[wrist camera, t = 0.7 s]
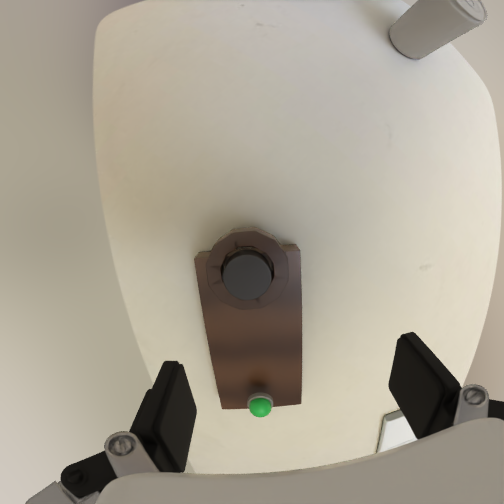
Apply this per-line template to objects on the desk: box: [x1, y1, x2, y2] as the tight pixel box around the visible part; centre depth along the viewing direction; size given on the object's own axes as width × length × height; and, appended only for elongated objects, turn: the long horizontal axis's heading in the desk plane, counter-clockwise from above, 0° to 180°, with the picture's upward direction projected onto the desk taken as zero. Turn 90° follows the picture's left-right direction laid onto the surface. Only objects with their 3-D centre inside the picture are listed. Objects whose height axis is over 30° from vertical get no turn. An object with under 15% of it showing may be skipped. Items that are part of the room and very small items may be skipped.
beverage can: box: [389, 0, 487, 59], centre depth 14 cm, size 5×5×12 cm
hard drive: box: [377, 410, 418, 453], centre depth 32 cm, size 2×8×12 cm
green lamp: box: [247, 393, 273, 417], centre depth 25 cm, size 3×3×2 cm
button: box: [223, 249, 271, 300], centre depth 22 cm, size 4×4×2 cm
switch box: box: [194, 227, 302, 409], centre depth 26 cm, size 20×9×4 cm, turn 5°
